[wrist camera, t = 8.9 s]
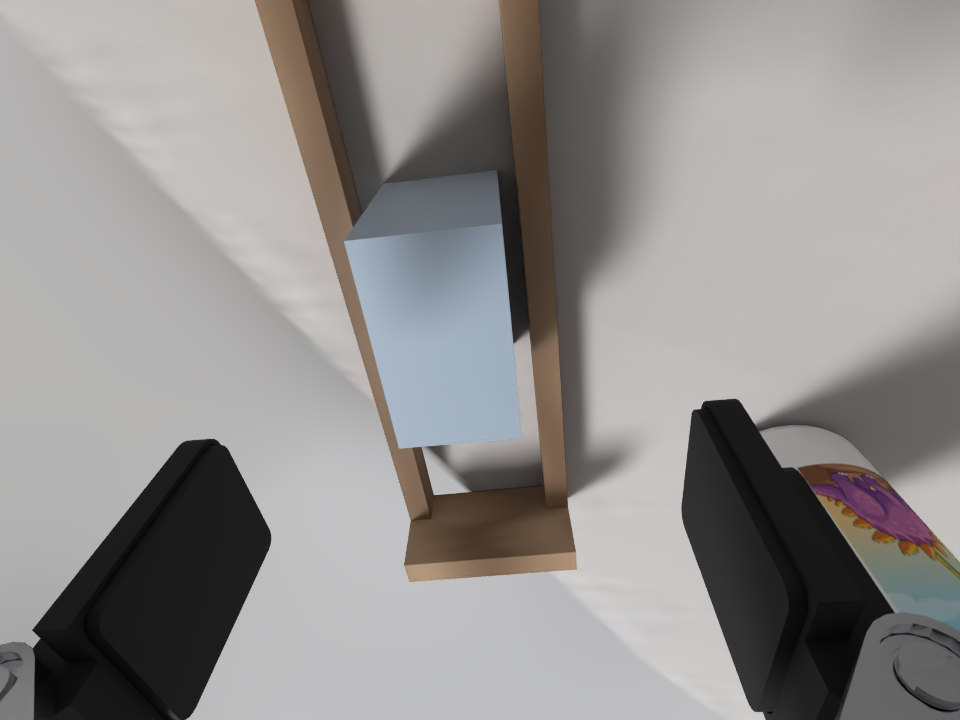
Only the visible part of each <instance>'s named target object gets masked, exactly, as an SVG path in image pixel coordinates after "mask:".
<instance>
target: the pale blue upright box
mask: <svg viewBox="0 0 960 720" xmlns="http://www.w3.org/2000/svg"><path fill="white" fill-rule="evenodd" d="M344 243H345V247H346V251H347V255H348V258H349V262H350V266H351V270H352V273H353V277H354V281H355V285H356V289H357V292H358V296H359V300H360V304H361V307H362V311H363V315H364V319H365V322H366V326H367V330H368V334H369V338H370V341H371V345H372V349H373V353H374V356H375V360H376V364H377V368H378V371H379V375H380V379H381V383H382V386H383V390H384V394H385V398H386V402H387V405H388V409H389V413H390V417H391V420H392V424H393V428H394V432H395V435H396V439H397V443H398V447H399V449H401V448H413V447H426V446H438V445H450V444H462V443H474V442H486V441H498V440H510V439H522V432H521V421H520V410H519V399H518V389H517V378H516V367H515V356H514V345H513V335H512V324H511V313H510V303H509V292H508V281H507V271H506V260H505V249H504V239H503V228H502V217H501V207H500V196H499V185H498V175H497V170H493V171H484V172H476V173H467V174H459V175H451V176H442V177H434V178H425V179H417V180H409V181H400V182H392V183H383V185H382V186H381V188H380V189H379V190H378V192H377V193H376V195H375V196H374V198H373V199H372V201H371V202H370V204H369V205H368V207H367V208H366V210H365V211H364V212H363V214H362V215H361V217H360V218H359V220H358V221H357V223H356V224H355V226H354V227H353V229H352V230H351V232H350V233H349V234H348V236H347V237H346V239H345V240H344Z"/></svg>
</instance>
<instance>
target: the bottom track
mask: <svg viewBox="0 0 960 720" xmlns="http://www.w3.org/2000/svg"><path fill="white" fill-rule="evenodd" d="M255 3H256V6H257V9H258V13H259V16H260V19H261V23H262V26H263V29H264V33H265V36H266V39H267V43H268V46H269V49H270V53H271V56H272V59H273V63H274V66H275V69H276V73H277V76H278V79H279V83H280V86H281V89H282V93H283V96H284V99H285V103H286V106H287V109H288V113H289V116H290V119H291V123H292V126H293V129H294V133H295V136H296V139H297V143H298V146H299V149H300V153H301V156H302V159H303V163H304V166H305V169H306V173H307V176H308V179H309V183H310V186H311V189H312V193H313V196H314V199H315V203H316V206H317V209H318V213H319V216H320V219H321V223H322V226H323V229H324V233H325V236H326V239H327V243H328V246H329V249H330V253H331V256H332V259H333V263H334V266H335V269H336V273H337V276H338V279H339V283H340V286H341V289H342V293H343V296H344V299H345V303H346V306H347V309H348V313H349V316H350V319H351V323H352V326H353V329H354V333H355V336H356V339H357V343H358V346H359V349H360V353H361V356H362V359H363V363H364V366H365V369H366V373H367V376H368V379H369V383H370V386H371V389H372V393H373V396H374V399H375V402H376V406H377V409H378V412H379V416H380V419H381V422H382V426H383V429H384V432H385V436H386V439H387V442H388V446H389V449H390V452H391V456H392V459H393V462H394V466H395V469H396V472H397V476H398V479H399V482H400V486H401V489H402V492H403V496H404V499H405V502H406V506H407V509H408V512H409V516H410V519H411V524H410V531H409V537H408V544H407V551H406V557H405V563H404V566H405V569H406V572H407V575H408V578H409V581H410V582H415V581H429V580H441V579H455V578H467V577H481V576H495V575H508V574H521V573H534V572H548V571H561V570H574V569H577V565H576V550H575V545H574V539H573V533H572V528H571V522H570V516H569V511H568V500H567V483H566V466H565V449H564V432H563V415H562V398H561V381H560V364H559V347H558V330H557V313H556V296H555V279H554V262H553V245H552V228H551V211H550V194H549V177H548V160H547V143H546V126H545V109H544V92H543V75H542V58H541V41H540V24H539V7H538V0H499V5H500V16H501V26H502V37H503V48H504V59H505V70H506V81H507V92H508V103H509V113H510V124H511V135H512V146H513V157H514V168H515V179H516V190H517V200H518V211H519V222H520V233H521V244H522V255H523V266H524V277H525V287H526V298H527V309H528V320H529V331H530V342H531V353H532V364H533V374H534V385H535V396H536V407H537V418H538V429H539V440H540V451H541V461H542V472H543V483H544V486H536V487H524V488H513V489H502V490H490V491H479V492H468V493H456V494H446V495H434V494H433V491H432V487H431V483H430V479H429V475H428V471H427V467H426V463H425V459H424V455H423V451H422V448H421V447H413V448H401V449H399V447H398V443H397V439H396V435H395V432H394V428H393V424H392V420H391V417H390V413H389V409H388V405H387V402H386V398H385V394H384V390H383V386H382V383H381V379H380V375H379V371H378V368H377V364H376V360H375V356H374V353H373V349H372V345H371V341H370V338H369V334H368V330H367V326H366V322H365V319H364V315H363V311H362V307H361V304H360V300H359V296H358V292H357V289H356V285H355V281H354V277H353V273H352V270H351V266H350V262H349V258H348V255H347V251H346V247H345V243H344V240H345V239H346V237H347V236H348V234H349V233H350V232H351V230H352V229H353V227H354V226H355V224H356V223H357V221H358V220H359V218H360V217H361V215H362V213H361V209H360V205H359V201H358V197H357V193H356V189H355V185H354V181H353V177H352V173H351V169H350V166H349V162H348V158H347V154H346V150H345V146H344V142H343V138H342V134H341V130H340V126H339V122H338V119H337V115H336V111H335V107H334V103H333V99H332V95H331V91H330V87H329V83H328V79H327V75H326V72H325V68H324V64H323V60H322V56H321V52H320V48H319V44H318V40H317V36H316V32H315V28H314V25H313V21H312V17H311V13H310V9H309V5H308V1H307V0H255Z"/></svg>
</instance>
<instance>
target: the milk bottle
mask: <svg viewBox="0 0 960 720" xmlns="http://www.w3.org/2000/svg"><path fill="white" fill-rule="evenodd" d="M759 432H760V434H761V435H762V437H763V439H764V440H765V442H766V443H767V445H768V446H769V448H770V450H771V451H772V453H773V454H774V456H775V457H776V459H777V460H778V462H779V464H780V465H781V467H782V468H786V467H793V468H795V469H796V470H798V471H799V472H800V473H801V475H802V476H803V477H804V478H805V480H806V481H807V483H808V484H809V486H810V487H811V489H812V490H813V492H814V493H815V495H816V496H817V498H818V499H819V501H820V502H821V503H822V505H823V506H824V508H825V509H826V511H827V512H828V514H829V515H830V517H831V518H832V520H833V521H834V523H835V524H836V526H837V527H838V529H839V530H840V532H841V533H842V535H843V536H844V538H845V539H846V541H847V542H848V544H849V545H850V547H851V548H852V550H853V551H854V553H855V554H856V556H857V557H858V558H859V560H860V561H861V563H862V564H863V566H864V567H865V569H866V570H867V572H868V573H869V575H870V576H871V578H872V579H873V581H874V582H875V584H876V585H877V587H878V588H879V590H880V591H881V593H882V594H883V596H884V597H885V599H886V600H887V602H888V603H889V605H890V606H891V608H892V609H893V611H894V612H895V613H902V612H904V613H911V614H917V615H924V616H926V617H929V618H932V619H935V620H937V621H940V622H943V623H946V624H947V625H949V626H951V627H953V628H954V629H956V630H958V631H960V562H959V561H958V560H957V559H956V558H955V557H954V555H953V554H952V553H951V552H950V551H949V550H948V549H947V548H946V547H945V545H944V544H943V543H942V542H941V541H940V540H939V539H938V538H937V537H936V535H935V534H934V533H933V532H932V531H931V530H930V529H929V528H928V527H927V525H926V524H925V523H924V522H923V521H922V520H921V519H920V518H919V517H918V515H917V514H916V513H915V512H914V511H913V510H912V509H911V508H910V507H909V505H908V504H907V503H906V502H905V501H904V500H903V499H902V498H901V497H900V495H899V494H898V493H897V492H896V491H895V490H894V489H893V488H892V487H891V486H890V484H889V483H888V482H887V481H886V480H885V479H884V478H883V477H882V476H881V475H880V473H879V472H878V471H877V470H876V469H875V468H874V467H873V466H872V465H871V463H870V462H869V461H868V460H867V459H866V458H865V457H864V456H863V455H862V454H861V453H860V452H859V451H858V450H857V449H856V448H855V447H854V446H853V445H852V444H851V443H850V442H849V441H848V440H847V439H845V438H843V437H842V436H840V435H838V434H835V433H833V432H830V431H828V430H825V429H823V428H819V427H813V426H808V425H786V426H779V427H772V428H769V429H765V430H761V431H759Z"/></svg>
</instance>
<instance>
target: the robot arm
mask: <svg viewBox="0 0 960 720" xmlns="http://www.w3.org/2000/svg"><path fill="white" fill-rule="evenodd" d="M682 519H683V524H684V527H685V530H686V533H687V535H688V538H689V541H690V544H691V546H692V549H693V552H694V555H695V557H696V560H697V563H698V566H699V568H700V571H701V574H702V577H703V579H704V582H705V585H706V588H707V591H708V593H709V596H710V599H711V602H712V604H713V607H714V610H715V613H716V615H717V618H718V621H719V624H720V626H721V629H722V632H723V635H724V637H725V640H726V643H727V646H728V648H729V651H730V654H731V657H732V660H733V662H734V665H735V668H736V671H737V673H738V676H739V679H740V682H741V684H742V687H743V690H744V693H745V695H746V698H747V700H748V703H749V705H750V707H751V709H752V710H753V711H755V712H763V713H764V716H765V719H766V720H960V631H958V630H956V629H954V628H953V627H951V626H949V625H947V624H946V623H943V622H940V621H937V620H935V619H932V618H929V617H926V616H924V615H917V614H911V613H904V612H902V613H895V612H894V611H893V609H892V608H891V606H890V605H889V603H888V602H887V600H886V599H885V597H884V596H883V594H882V593H881V591H880V590H879V588H878V587H877V585H876V584H875V582H874V581H873V579H872V578H871V576H870V575H869V573H868V572H867V570H866V569H865V567H864V566H863V564H862V563H861V561H860V560H859V558H858V557H857V556H856V554H855V553H854V551H853V550H852V548H851V547H850V545H849V544H848V542H847V541H846V539H845V538H844V536H843V535H842V533H841V532H840V530H839V529H838V527H837V526H836V524H835V523H834V521H833V520H832V518H831V517H830V515H829V514H828V512H827V511H826V509H825V508H824V506H823V505H822V503H821V502H820V501H819V499H818V498H817V496H816V495H815V493H814V492H813V490H812V489H811V487H810V486H809V484H808V483H807V481H806V480H805V478H804V477H803V476H802V475H801V473H800V472H799V471H798V470H796V469H795V468H793V467H786V468H782V467H781V465H780V464H779V462H778V460H777V459H776V457H775V456H774V454H773V453H772V451H771V450H770V448H769V446H768V445H767V443H766V442H765V440H764V439H763V437H762V435H761V434H760V432H759V431H758V429H757V428H756V426H755V424H754V423H753V421H752V420H751V418H750V417H749V415H748V413H747V412H746V410H745V409H744V407H743V406H742V404H741V403H740V402H739V400H737V399H727V400H714V401H705V402H703V404H702V407H701V409H698V410H693V412H692V416H691V426H690V435H689V444H688V453H687V462H686V471H685V480H684V490H683V499H682ZM270 544H271V533H270V530H269V528H268V526H267V524H266V522H265V520H264V518H263V516H262V514H261V512H260V510H259V508H258V506H257V505H256V502H255V501H254V499H253V497H252V495H251V493H250V491H249V489H248V487H247V485H246V483H245V481H244V479H243V478H242V475H241V474H240V472H239V470H238V468H237V466H236V464H235V462H234V460H233V458H232V456H231V454H230V452H229V450H228V449H227V448H226V447H225V446H222V445H221V444H220V443H219V442H218V441H217V440H215V439H206V440H192V441H186V442H183V443H182V444H181V445H179V447H178V448H177V449H176V450H175V451H174V453H173V454H172V455H171V456H170V458H169V459H168V460H167V462H166V463H165V464H164V465H163V467H162V468H161V469H160V470H159V472H158V473H157V474H156V475H155V477H154V478H153V479H152V480H151V482H150V483H149V484H148V486H147V487H146V488H145V489H144V490H143V492H142V493H141V494H140V496H139V497H138V498H137V499H136V500H135V502H134V503H133V504H132V506H131V507H130V508H129V509H128V511H127V512H126V513H125V514H124V516H123V517H122V518H121V519H120V521H119V522H118V523H117V524H116V526H115V527H114V528H113V529H112V531H111V532H110V533H109V535H108V536H107V537H106V538H105V540H104V541H103V542H102V543H101V544H100V546H99V547H98V548H97V549H96V551H95V552H94V553H93V555H92V556H91V557H90V558H89V560H88V561H87V562H86V563H85V565H84V566H83V567H82V568H81V570H80V571H79V572H78V573H77V575H76V576H75V577H74V579H73V580H72V581H71V582H70V583H69V585H68V586H67V587H66V589H65V590H64V591H63V592H62V594H61V595H60V596H59V597H58V599H57V600H56V601H55V602H54V604H53V605H52V606H51V607H50V609H49V610H48V611H47V612H46V614H45V615H44V616H43V617H42V619H41V620H40V621H39V622H38V624H37V625H36V626H35V627H34V629H33V630H32V631H34V632H35V633H36V634H37V635H38V636H39V637H40V638H41V639H40V640H39V641H38V642H37V644H36V645H35V646H34V648H32V647H30V646H29V645H28V644H26V643H22V642H11V643H7V644H3V645H0V720H186V719H187V718H189V717H190V716H191V714H192V713H193V711H194V710H195V708H196V706H197V704H198V702H199V700H200V698H201V695H202V693H203V691H204V689H205V687H206V684H207V682H208V680H209V678H210V676H211V673H212V672H213V669H214V667H215V665H216V663H217V661H218V658H219V656H220V654H221V652H222V650H223V647H224V645H225V643H226V641H227V639H228V637H229V635H230V632H231V630H232V628H233V626H234V624H235V622H236V619H237V617H238V615H239V613H240V611H241V609H242V606H243V604H244V602H245V600H246V598H247V596H248V593H249V591H250V589H251V587H252V585H253V582H254V580H255V578H256V576H257V574H258V572H259V570H260V567H261V565H262V563H263V561H264V559H265V556H266V554H267V552H268V550H269V547H270Z"/></svg>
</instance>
